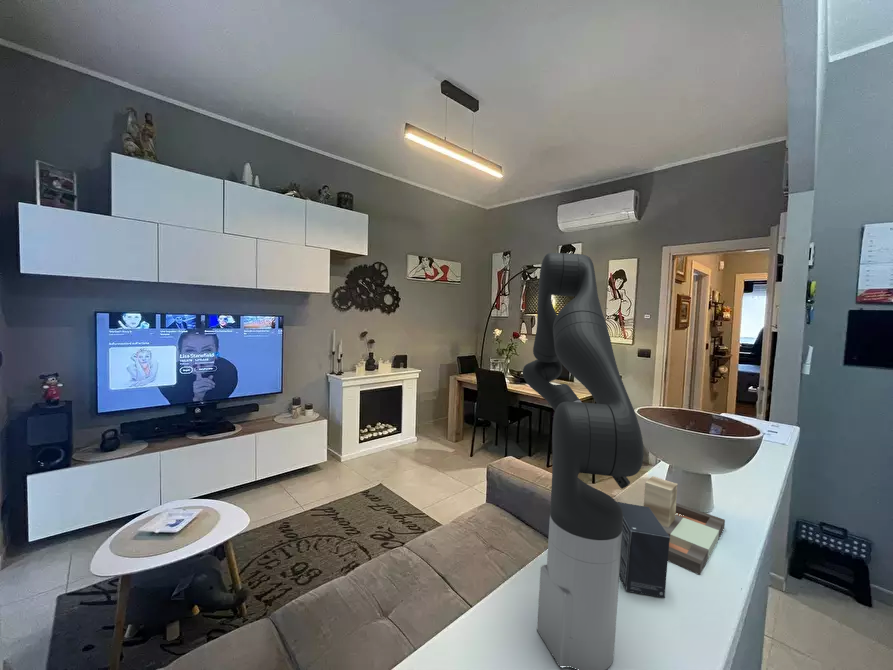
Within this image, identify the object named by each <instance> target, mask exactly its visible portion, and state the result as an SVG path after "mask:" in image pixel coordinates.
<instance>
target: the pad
mask: <svg viewBox="0 0 893 670" xmlns="http://www.w3.org/2000/svg"><path fill="white" fill-rule="evenodd" d="M718 538H719V530H716V529H714V528H711V527H708V526H705V525H703V524H700V523H697V522H694V521H692V520H689V519H686V518H683V519H682V520H681V521H680V523H679V524H678V525H677V526H676V528H675V529H674V530H673V531H672V533H671V534H670V543H672V544H675V545H677V546H680V547H682V548H684V549H687V550H689V549H690V548H691V546H692V545H693V544H696V545H698V546H701V547H703V548H706V549H708V559H709V558H710V557H711V555H712V553H713V550H714V549H715V547H716V545H717V544H718V541H719V540H718ZM719 539H720V538H719Z"/></svg>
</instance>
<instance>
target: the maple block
mask: <svg viewBox="0 0 893 670" xmlns="http://www.w3.org/2000/svg"><path fill="white" fill-rule="evenodd" d="M678 485H679V484H678V483H677V482H673V481H669V480H666V479H663V478H659V477H656V476H651V477H650V478H648V480H646V481H645V482H644V494H643V495H644V498H643V506H646V507H649V508H650V509H651V511H652V512H653V514H654V515H655V517H656V518H657V520H658V521H659V522H660V524H661V525H663V526H665V527H668V528H669V526H670V525H671V524H672V523H673V521H674V520H675V514H676V503H677V498H678Z"/></svg>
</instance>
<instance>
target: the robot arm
mask: <svg viewBox="0 0 893 670" xmlns="http://www.w3.org/2000/svg"><path fill="white" fill-rule="evenodd" d="M538 277H539V278H538V279H539V280H538V291H537V294H538V295H537V309H536V310H537V311H536V312H537V315H536V316H537V317H536V318H537V321H536V332H535V337H534V343H533V347H532V353H533V357H534V358H535V360H533V361H531V362H528V363H527V364H525V365H524V366H523V369H522V377H523V379H524V381H525V382H526V384H527V385H528V386H529V387H530V388H531V389H532V390H533V391H535V392H536V393H537V394H538V395H539V396H541V397H542V399H544V400H545V401H546V402H547V403H548V404H549V405H550V407H551V408H552V409H553V412H554V414H553V420H552V437H551V440H552V444H551V445H552V448H551V449H552V453H551V454H552V467H551V468H552V472H551V473H552V474H551V493H550V509H549V522H548V523H549V526H548V537H547V539H548V542H547V555H546V556H547V558H546V559H547V561H546V564H542V565H541V566H540V571H539V575H540V576H539V590H538V606H537V607H538V609H537V625H536V630H537V633H538V634H539V635H540V637H541V639H542V641H543V642H544V644H545V645H546V647H547V649H548V650H549V652H550V654H551V653H552V654H553V655H552V654H551V655H552V657H553V656H554V657H553V659H554V658H555V659H556V660H555V659H554V660H555V662H556V661H557V662H558V664H559V665H560V666H571V667H573V668H576V669H579V670H607V669H609V668H610V666H611V665H612V664H613V661H614V657H615V644H616V632H617V631H616V629H617V615H618V614H617V613H618V601H619V600H618V599H619V586H620V585H619V583H620V576H619V572H620V557H621V543H622V528H623V512H622V509H621V507H620V505H619V504H618V503H617V502H618V501H617V500H616V499H614V498H613V497H611V496H610V495H608V494H607V493H606V492H604V491H602V490H599V489H597V488H596V487H593V486H591V485H589V484H588V483H586V482H584V481H583V480H581V479H580V478H579V474H588V475H589V474H590V475H597V476H609V477H612V478H613V480H614V481H615V482H616V484H617V486H619V487H620V489H625V488H627V487H628V486H629V485H630V484H631V481H630V480H629V478H628V477H632V476H635V475H637V474H638V473H639V472H640V471H641V468H642V467H643V464H644V463H643V462H644V455H645V453H644V442H643V437H642V436H643V435H642V431H641V427H640V424H639V420H638V417H637V414H636V412H635V410H634V406H633V404H632V401H631V399H630V397H629V394H628V392H627V389H626V387H625V384H624V382H623V380H622V378H621V374H620V371H619V368H618V364H617V361H616V357H615V354H614V349H613V345H612V341H611V340H612V339H611V336H610V332H609V327H608V324H607V323H606V320H605V316H604V314H603V313H604V312H603V310H602V307H601V306H602V305H601V302H600V300H599V294H598V293H599V292H598V285H597V279H596V272H595V266H594V263H593V260H592V259H591V258H590V256H588V255H586V254H581V253H565V252H548V253H547V254H545V256H544V257H543V259H542V262H541V265H540V271H539V276H538ZM552 296H562V297H563V296H564V297H574V298H572V299H571V300H570V301H568V302H567V304H566V305H564V307H563V308H561V310H560V311H559V312H558V313H557V312H556V309H555V308H554V305H553V301H552ZM562 366H563V367H564V368H565V369H566V370H567V372H568V373H570V374H571V375H572V376H573V377H574V378H575V379H576V380H577V381H578V382H579V383H580V384H581V385H582V386H583V387H584V388H585V389H587V391H588V392H589V394H590V395H591V396H592V398H593V399H594V401H595V402H596V403H593V402H582V401H581V400H580V398H579V397H578V395H577V394H575V393H576V392H575V391H574V390H573V389H572V388H571V387H570V386H569V384H566V383H560V384H553V383H551V382H553V381H555V380H556V379H558V378H559V377H560V376H561V374H562V372H563V367H562ZM557 662H556V663H557ZM558 664H557V665H558ZM559 665H558V666H559Z"/></svg>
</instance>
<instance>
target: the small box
mask: <svg viewBox="0 0 893 670" xmlns="http://www.w3.org/2000/svg"><path fill="white" fill-rule="evenodd" d="M616 502H617V503H618V504H619V505H620V507H621V509H622V512H623V528H622V543H621V557H620V572H619V579H620V580H621V583H622V585H623V588H624V590H625V591H626V592H628V593H629V592H630V593H634V594H635V593H636V594H641V595H646V596H651V597H656V598H661V599H665V598H666V586H667V585H666V584H667V574H668V562H669V561H668V552H669V541H670V537H669V535H668V534H667V532H666V531H665V529H664V528H663V527H662V525H661V524H660V522H659V521H658V520H657V518H656V517H655V515H654V514H653V512H652V511H651V509H650V508H649V507H646V506H644V505H637V504H631V503H628V502H627V503H626V502H619V501H616Z"/></svg>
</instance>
